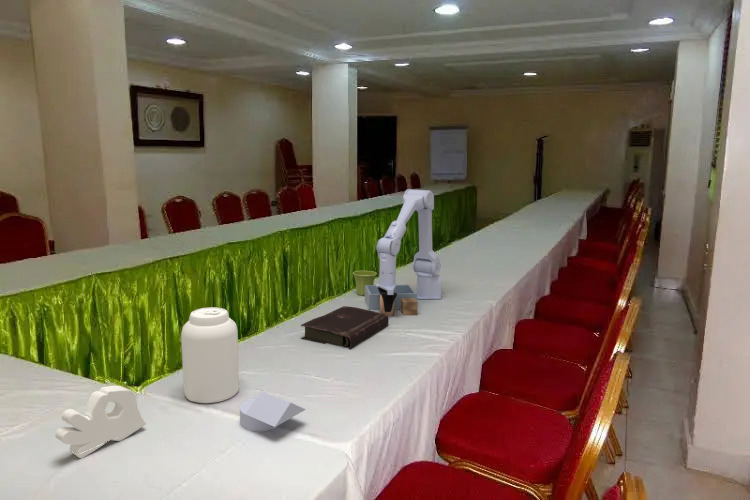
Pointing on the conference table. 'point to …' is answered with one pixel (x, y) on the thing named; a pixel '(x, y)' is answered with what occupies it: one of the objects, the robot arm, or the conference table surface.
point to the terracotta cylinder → (383, 307)
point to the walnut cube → (408, 306)
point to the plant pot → (363, 280)
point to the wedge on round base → (266, 412)
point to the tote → (402, 292)
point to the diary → (345, 326)
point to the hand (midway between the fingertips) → (386, 309)
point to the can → (210, 356)
